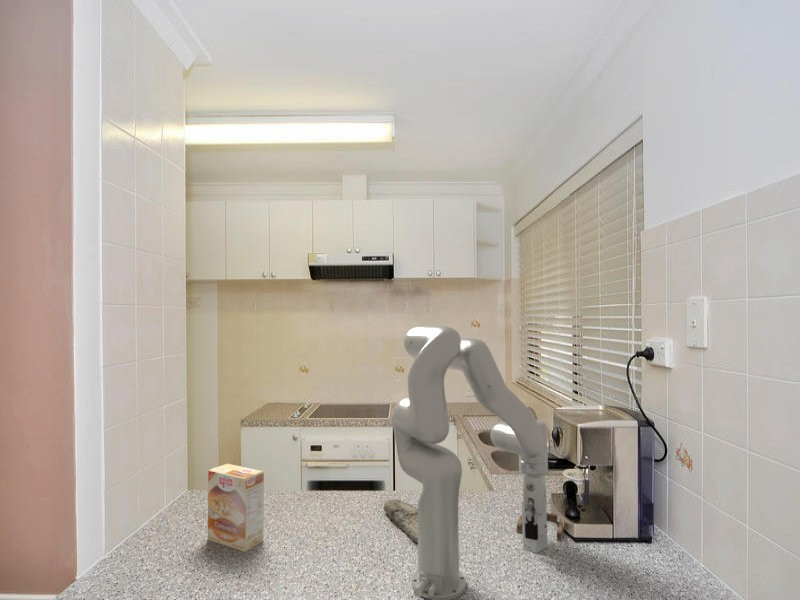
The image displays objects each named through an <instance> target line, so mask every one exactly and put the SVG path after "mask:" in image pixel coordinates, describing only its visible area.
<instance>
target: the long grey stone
mask: <svg viewBox="0 0 800 600" xmlns="http://www.w3.org/2000/svg"><path fill="white" fill-rule="evenodd" d="M413 505H414V504H413ZM413 505H412V504H410V503H408V502H406V501H403V500H401V499H397V498H392V499H391V498H390V499H388V500H386V501H385V502H384V504H383V511H384V512H385V513H386V514H387V516H388V517H389V519H391V522H393V524H395V526H397V527H399V529H401V530H402V531H404V532H405V534H407V535H408V537H409V538H410V539H412V540H413V541H414V542H416V543H417V544H418V508H417V507H415V506H413Z"/></svg>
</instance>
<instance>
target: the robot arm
mask: <svg viewBox="0 0 800 600" xmlns="http://www.w3.org/2000/svg"><path fill="white" fill-rule="evenodd" d="M403 343H404V344H403V345H404V348H405V350H406V352H407V354H408V355H409V356H410V357H411V358H413V359H414V360H413V362H412V365H411V366H410V369H409V372H408V374H407V392H408V396H406V397H404V398H402V399H401V400H399V402H398V403H397V404H396V405H395V408H394V410H393V415H392V427H393V428H392V429H393V435H394V441H395V447H396V453H397V459H398V462H399V466H400V468H401V470H402V471H403V472H404V473H405V474H406V476H409V477H410V478H413V479H414V480H416V481H418V482H419V483H421V484H422V488H421V489H422V490H421V493H420V495H419V498H418V501H417V509H418V543H417V570H415V571H414V573H413V574H412V577H411V586H412V588H413V594H414V595H415V597H417V598H421V597H422V598H425V599H427V600H454V599H456V598H458V597H460V596H462V595H463V594H464V592H465V590H466V589H467V588H466V587H467V580H466V577H465V575H464V574H463V572H461V571H460V553H459V552H460V547H459V545H460V541H459V540H460V539H459V538H460V537H459V536H460V535H459V529H460V528H459V497H460V488H461V483H462V477H463V467H462V462H461V459H460V458H459V457H458V455H457V454H456V453H455V452H453V451H452V450H450V449H449V448H447V447H444V446H442V445H440V443H442V442H444V441H445V440H446V439H447V437H448V436H449V433H450V419H449V412H448V405H447V397H446V393H445V391H446V389H445V376H446V373H447V370H448V369H450V370H457V371H461V372H462V373H463V375H464V378H465V379H466V381H467V383H468V386H469V387H470V389H471V392H472V394H473V396H474V398H475V400H476V401H477V403H478V404H479V405H480V406H482V407H483V408H485V409H486V410H487V411H489V412H490V413H492V414H494V415H495V416H497V417H498V418H499V419H501V420H502V421H500V422H498V423H496V424H495V425H494V426H493V427H492V428H491V431H490V434H489V435H490V440H491V442H492V444H493V445H494V446H495V447H496V448H498V449H499V450H502V451H504V452H507V453H511V454H514V455H516V456H518V461H519V462H518V466H519V467H518V469H519V470H518V471H519V473H520V474H521V475H522V502H523V509H524V512H525V513H526V517H525V537H526V538H528V539H532V540H538V524H537V514H540V515H542V514H543V513H544V510H545V508H546V509H547V503H548V501H547V500H548V499H547V482H546V476H547V475H548V474H549V470H548V469H549V463H548V461H549V460H548V459H549V458H548V427H547V423H545V422H544V421H542V420H540V419H536V417H535V415H534V414H533V412H532V411H531V410H530V408H529V407H527V405H526V404H525V403H524V402H523V401H522V400H521V399H520V398H519V397H518V396H517V394H515V393H514V392H513V391H512V390H511V389H510V388H508V386H507V385H506V382H505V380H504V378H503V376H502V374H501V372H500V370H499V369H500V368H499V367H498V365H497V363H496V360H495V358H494V357H493V355H492V352H491V350H490V348H489V346H488V345H487V344H486V342H484V341H482V340H481V339H477V338H470V337H469V338H468V337H461V335H460V333H459V332H458V331H457V330H456V329H454V328H452V327H449V326H444V325H419V326H414V327H412V328H411V329H409V330H408V331H407V333H406V334H405V337H404V342H403ZM533 503H534V504H533ZM532 510H535V511H532ZM532 515H534V518H533V516H532Z"/></svg>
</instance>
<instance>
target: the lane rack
mask: <svg viewBox="0 0 800 600" xmlns="http://www.w3.org/2000/svg"><path fill="white" fill-rule="evenodd" d="M556 514H557V513H551V512H546V515H547V522H551V523H557V515H558V514H557V515H556ZM564 530H565V526H564V527H563V522H562V520H561V519H560V523H558V528H557V531H556V541H557V542H561V541H562V538H563V534H564ZM522 532H523V525H522V514H521V515H520V518H519V520H518V522H517V524H516V533H517V534H521V533H522Z"/></svg>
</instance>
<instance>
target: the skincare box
mask: <svg viewBox="0 0 800 600" xmlns="http://www.w3.org/2000/svg"><path fill="white" fill-rule="evenodd" d="M533 504H534V503H533ZM532 511H535V510H532ZM546 513H547V507H546V508H545V510H544V513H543V514H542V515H540V514H537V524H538V540H532V539H528V538H526V537H525V517H526V513H525V512H524V509H523V501H521V515H522V525H523V528H522V548H524V549H525V550H527V551H529V552H532V553H533V554H537V553H539V552H541V551H542V550H545V548H547V547H548V545H549V544H548V521H547V515H546ZM532 516H533V518H534V515H532Z"/></svg>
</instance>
